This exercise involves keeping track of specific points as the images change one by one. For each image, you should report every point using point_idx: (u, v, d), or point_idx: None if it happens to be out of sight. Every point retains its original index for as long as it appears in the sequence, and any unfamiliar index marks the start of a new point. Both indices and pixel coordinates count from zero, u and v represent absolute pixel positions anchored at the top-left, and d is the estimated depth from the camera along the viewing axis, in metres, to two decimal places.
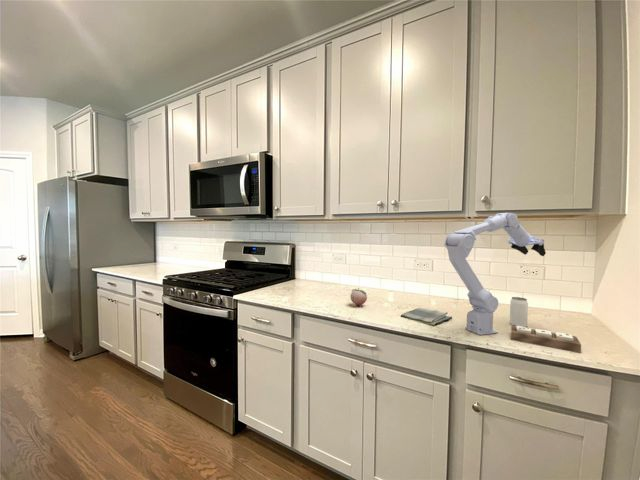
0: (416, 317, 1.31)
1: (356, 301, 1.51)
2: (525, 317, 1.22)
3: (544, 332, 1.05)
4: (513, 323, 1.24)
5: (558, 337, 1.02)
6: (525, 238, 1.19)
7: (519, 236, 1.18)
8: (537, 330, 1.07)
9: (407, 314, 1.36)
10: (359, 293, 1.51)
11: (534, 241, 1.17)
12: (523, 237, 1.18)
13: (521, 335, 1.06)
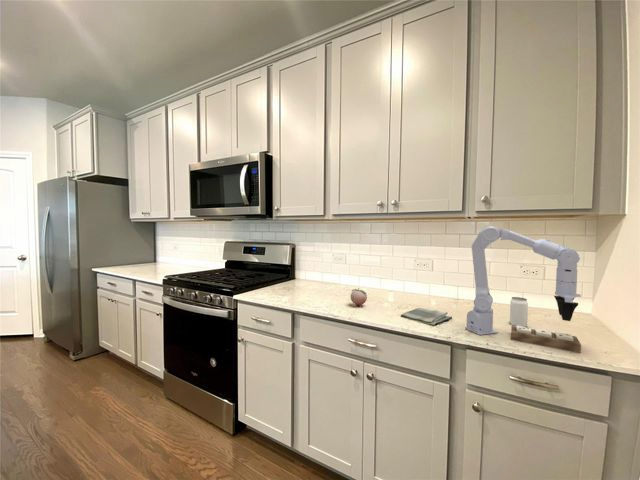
0: (416, 317, 1.31)
1: (356, 301, 1.51)
2: (525, 317, 1.22)
3: (544, 332, 1.05)
4: (513, 323, 1.24)
5: (558, 337, 1.02)
6: (564, 288, 1.00)
7: (560, 280, 1.02)
8: (537, 330, 1.07)
9: (407, 314, 1.36)
10: (359, 293, 1.51)
11: (566, 296, 0.98)
12: (562, 284, 1.01)
13: (521, 335, 1.06)
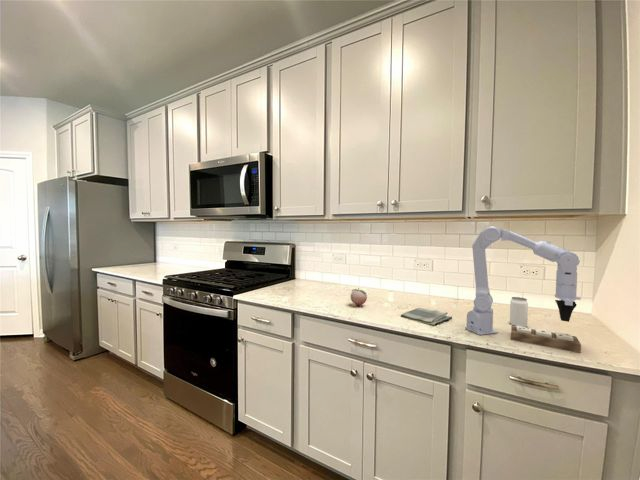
0: (416, 317, 1.31)
1: (356, 301, 1.51)
2: (525, 317, 1.22)
3: (544, 332, 1.05)
4: (513, 323, 1.24)
5: (558, 337, 1.02)
6: (563, 291, 1.00)
7: (560, 283, 1.02)
8: (537, 330, 1.07)
9: (407, 314, 1.36)
10: (359, 293, 1.51)
11: (566, 299, 0.98)
12: (562, 287, 1.01)
13: (521, 335, 1.06)
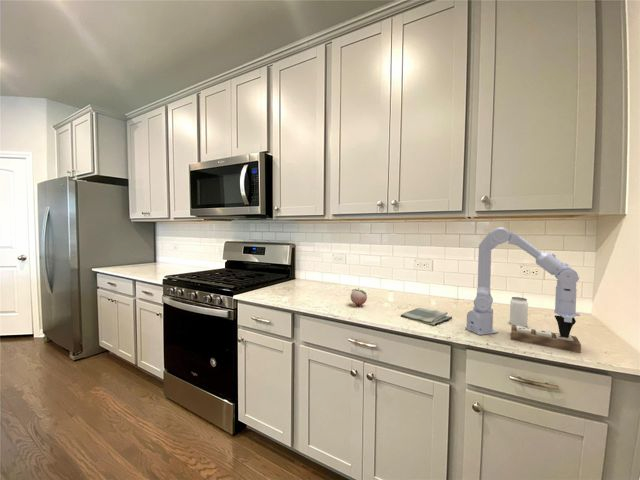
0: (416, 317, 1.31)
1: (356, 301, 1.51)
2: (525, 317, 1.22)
3: (544, 332, 1.05)
4: (513, 323, 1.24)
5: None
6: (563, 307, 1.01)
7: (559, 299, 1.02)
8: (537, 330, 1.07)
9: (407, 314, 1.36)
10: (359, 293, 1.51)
11: (566, 315, 0.99)
12: (562, 303, 1.01)
13: (521, 335, 1.06)
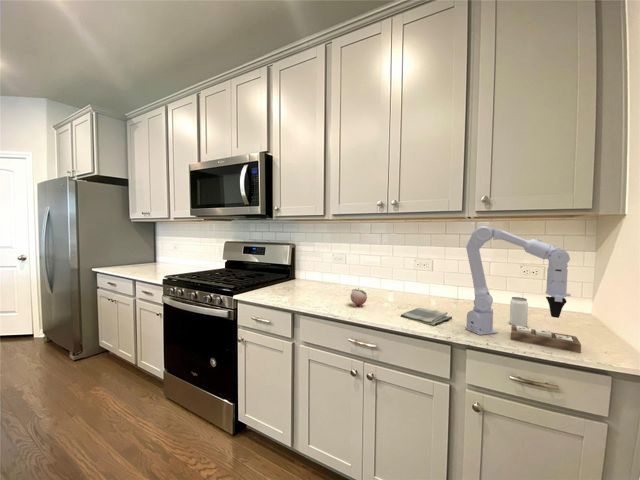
0: (416, 317, 1.31)
1: (356, 301, 1.51)
2: (525, 317, 1.22)
3: (544, 332, 1.05)
4: (513, 323, 1.24)
5: None
6: (554, 287, 1.02)
7: (550, 280, 1.03)
8: (537, 330, 1.07)
9: (407, 314, 1.36)
10: (359, 293, 1.51)
11: (556, 295, 1.00)
12: (553, 284, 1.02)
13: (521, 335, 1.06)
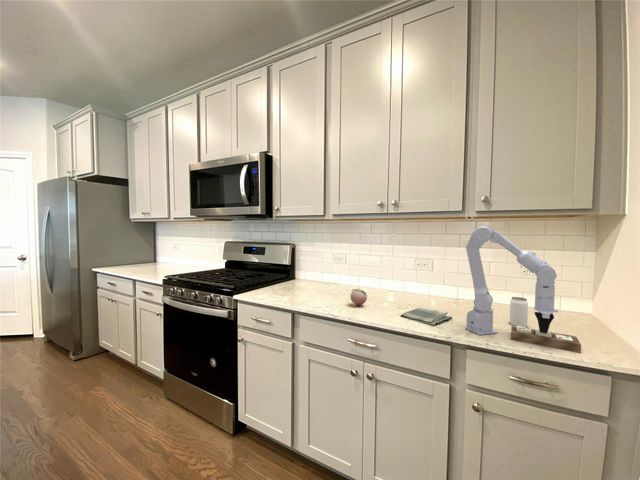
0: (416, 317, 1.31)
1: (356, 301, 1.51)
2: (525, 317, 1.22)
3: (544, 333, 1.05)
4: (513, 323, 1.24)
5: None
6: (542, 304, 1.04)
7: (538, 296, 1.05)
8: (537, 331, 1.07)
9: (407, 314, 1.36)
10: (359, 293, 1.51)
11: (544, 311, 1.02)
12: (541, 300, 1.04)
13: (521, 335, 1.06)
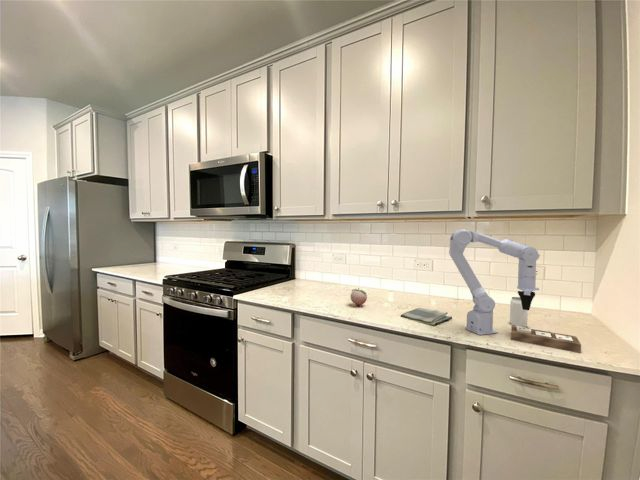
0: (416, 317, 1.31)
1: (356, 301, 1.51)
2: (525, 317, 1.22)
3: (544, 334, 1.05)
4: (513, 323, 1.24)
5: None
6: (524, 282, 1.11)
7: (523, 276, 1.11)
8: (537, 332, 1.07)
9: (407, 314, 1.36)
10: (359, 293, 1.51)
11: (525, 289, 1.09)
12: (523, 279, 1.11)
13: (521, 335, 1.06)
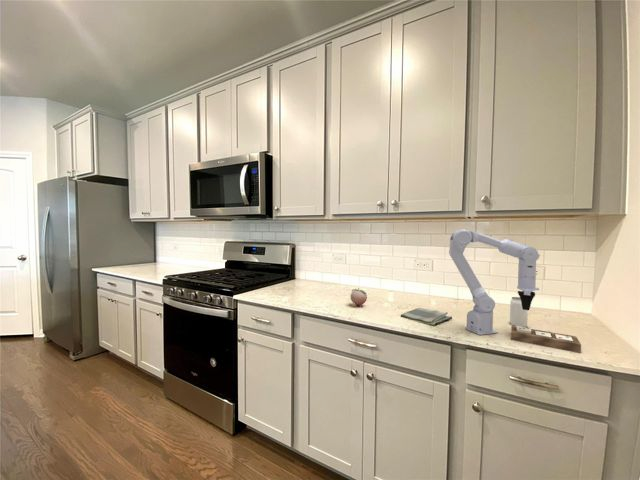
0: (416, 317, 1.31)
1: (356, 301, 1.51)
2: (525, 317, 1.22)
3: (544, 334, 1.05)
4: (513, 323, 1.24)
5: None
6: (524, 282, 1.11)
7: (523, 276, 1.11)
8: (537, 332, 1.07)
9: (407, 314, 1.36)
10: (359, 293, 1.51)
11: (525, 289, 1.09)
12: (523, 279, 1.11)
13: (521, 335, 1.06)
